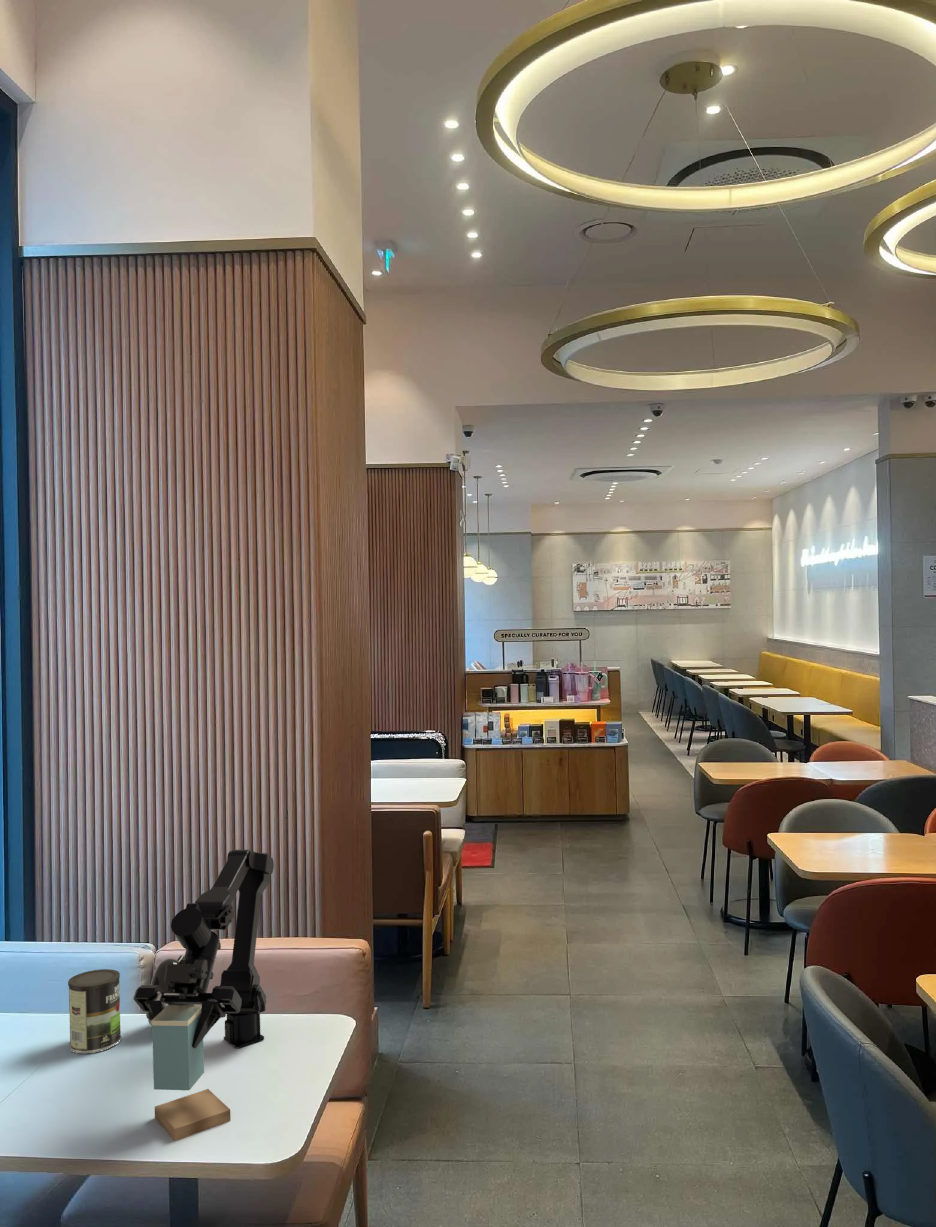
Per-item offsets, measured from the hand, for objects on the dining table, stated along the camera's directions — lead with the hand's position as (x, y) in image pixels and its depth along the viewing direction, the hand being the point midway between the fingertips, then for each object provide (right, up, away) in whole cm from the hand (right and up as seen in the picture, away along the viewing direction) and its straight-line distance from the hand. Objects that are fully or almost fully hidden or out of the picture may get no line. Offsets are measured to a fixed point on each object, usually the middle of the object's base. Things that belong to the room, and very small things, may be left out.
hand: (175, 1047), depth 165 cm
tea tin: (0, -7, +1) cm, 7 cm away
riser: (+3, -14, +1) cm, 14 cm away
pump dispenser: (-14, -15, +41) cm, 45 cm away
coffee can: (-28, -15, +34) cm, 47 cm away
